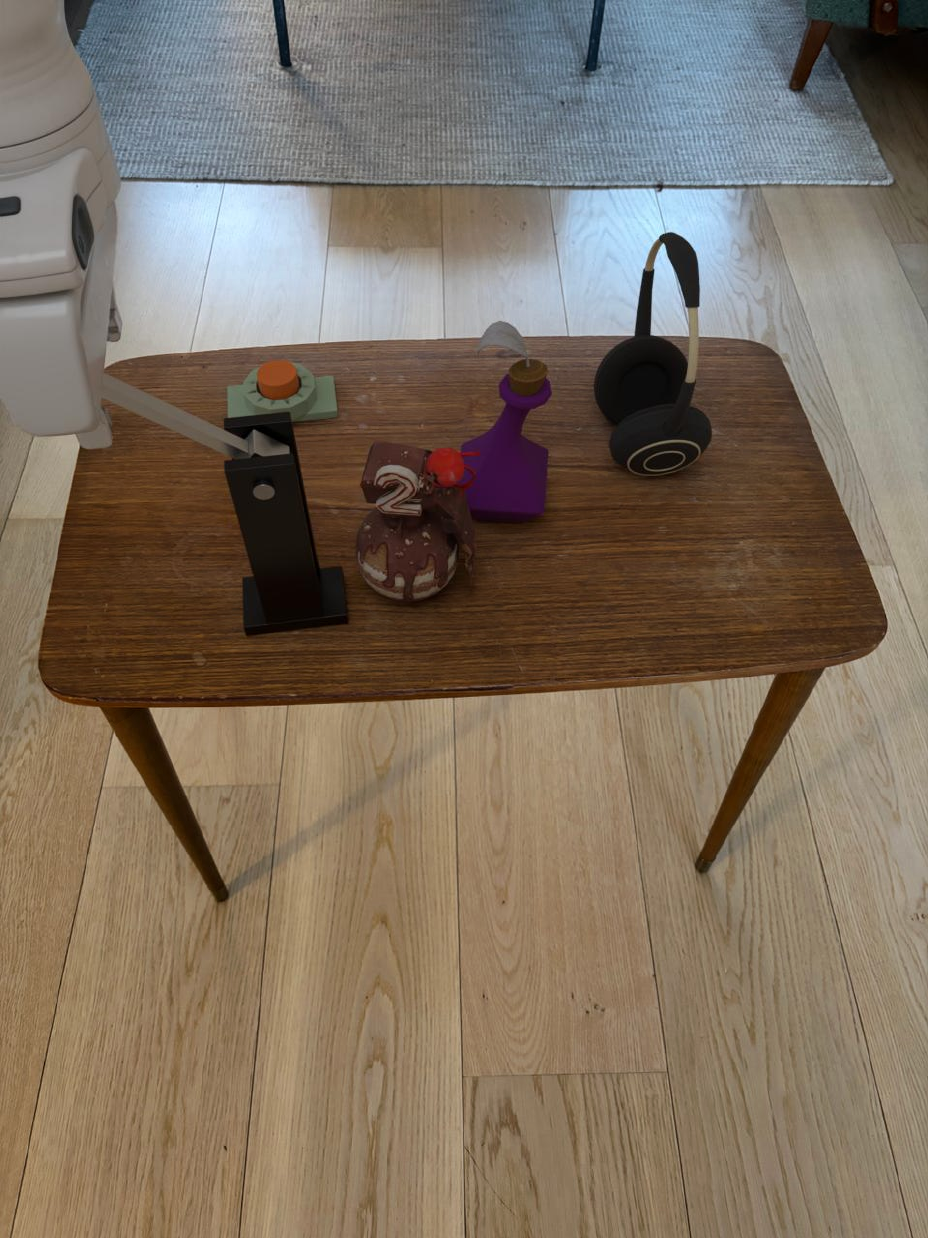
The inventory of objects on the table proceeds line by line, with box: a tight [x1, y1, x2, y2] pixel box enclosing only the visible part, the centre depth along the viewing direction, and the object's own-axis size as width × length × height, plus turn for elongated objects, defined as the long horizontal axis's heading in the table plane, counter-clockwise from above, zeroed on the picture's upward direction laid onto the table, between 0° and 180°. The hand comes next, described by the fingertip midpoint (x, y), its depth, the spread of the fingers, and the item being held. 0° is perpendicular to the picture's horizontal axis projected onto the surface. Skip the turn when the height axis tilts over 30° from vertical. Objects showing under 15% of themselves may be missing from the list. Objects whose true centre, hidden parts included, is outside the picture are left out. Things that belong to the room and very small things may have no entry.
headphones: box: [593, 231, 713, 477], centre depth 81 cm, size 9×15×20 cm, turn 6°
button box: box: [226, 360, 339, 423], centre depth 91 cm, size 10×6×2 cm, turn 99°
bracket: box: [223, 411, 349, 637], centre depth 71 cm, size 8×6×18 cm
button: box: [257, 359, 299, 400], centre depth 90 cm, size 4×4×2 cm
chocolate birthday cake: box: [355, 439, 481, 603], centre depth 74 cm, size 9×8×15 cm
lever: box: [101, 372, 290, 459], centre depth 62 cm, size 14×4×2 cm
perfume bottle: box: [455, 320, 553, 525], centre depth 78 cm, size 8×8×18 cm
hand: (104, 385), depth 59 cm, fingers open, 8 cm apart
